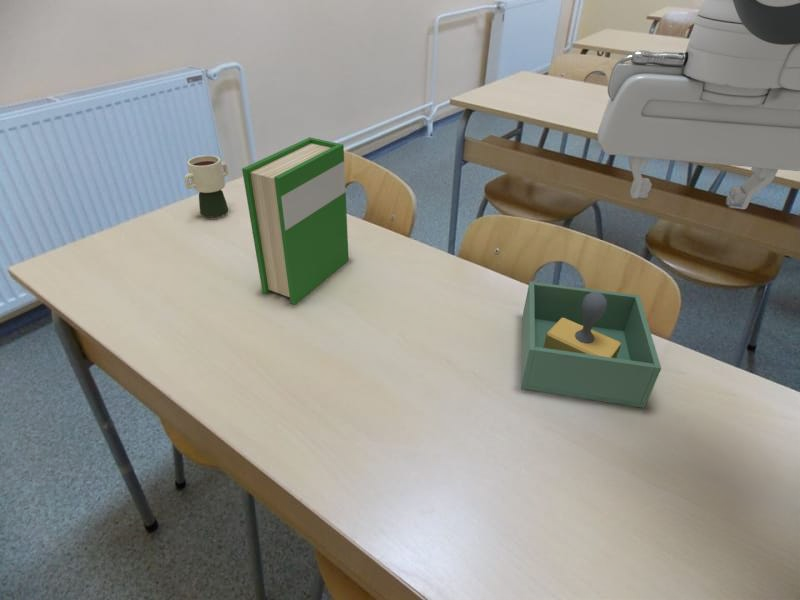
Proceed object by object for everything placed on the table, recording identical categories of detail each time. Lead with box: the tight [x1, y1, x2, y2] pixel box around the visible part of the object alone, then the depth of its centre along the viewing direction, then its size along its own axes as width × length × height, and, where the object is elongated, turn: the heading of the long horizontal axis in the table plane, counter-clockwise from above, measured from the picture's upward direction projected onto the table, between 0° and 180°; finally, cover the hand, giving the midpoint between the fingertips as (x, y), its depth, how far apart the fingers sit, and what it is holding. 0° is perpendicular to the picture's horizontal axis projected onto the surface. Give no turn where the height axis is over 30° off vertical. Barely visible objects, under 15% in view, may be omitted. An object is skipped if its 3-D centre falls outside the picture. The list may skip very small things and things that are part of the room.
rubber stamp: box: [543, 292, 621, 358], centre depth 79 cm, size 10×6×12 cm, turn 50°
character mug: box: [183, 154, 229, 218], centre depth 117 cm, size 11×7×13 cm, turn 142°
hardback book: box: [241, 136, 350, 305], centre depth 94 cm, size 18×7×24 cm, turn 151°
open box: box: [520, 281, 662, 409], centre depth 81 cm, size 18×18×8 cm
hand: (685, 201), depth 53 cm, fingers open, 8 cm apart
